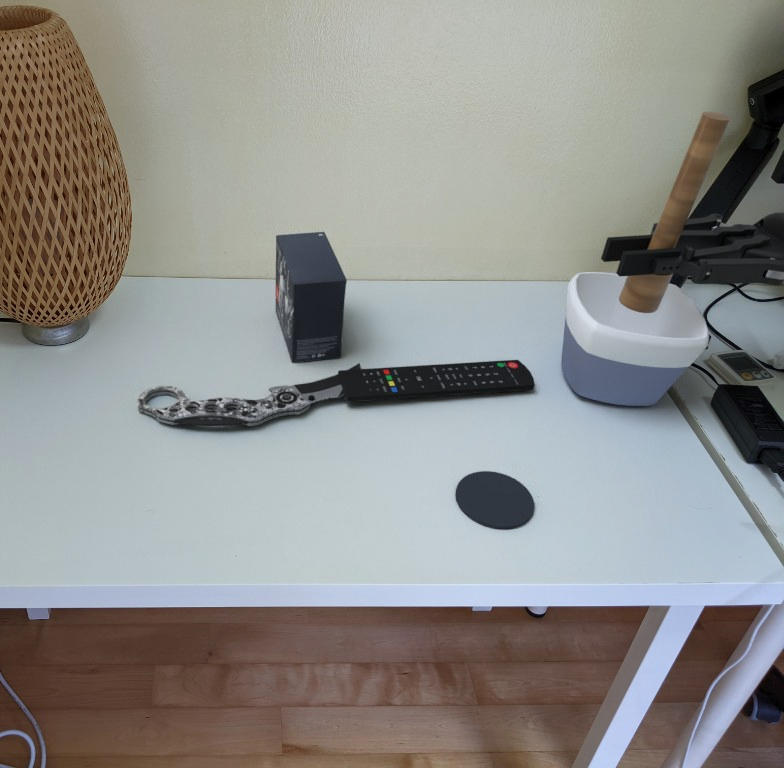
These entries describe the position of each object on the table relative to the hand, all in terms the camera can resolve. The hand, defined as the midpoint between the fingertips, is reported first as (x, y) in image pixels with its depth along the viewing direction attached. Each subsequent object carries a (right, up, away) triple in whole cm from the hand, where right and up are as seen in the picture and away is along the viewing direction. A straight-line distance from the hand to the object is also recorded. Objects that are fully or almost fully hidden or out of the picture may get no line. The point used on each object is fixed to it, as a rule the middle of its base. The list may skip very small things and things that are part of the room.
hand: (613, 256), depth 86 cm
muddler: (+5, -5, +5) cm, 8 cm away
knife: (-40, -17, +7) cm, 44 cm away
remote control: (-18, -15, +10) cm, 25 cm away
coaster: (-15, -26, -5) cm, 31 cm away
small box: (-33, -8, +19) cm, 39 cm away
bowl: (+4, -14, +12) cm, 18 cm away
